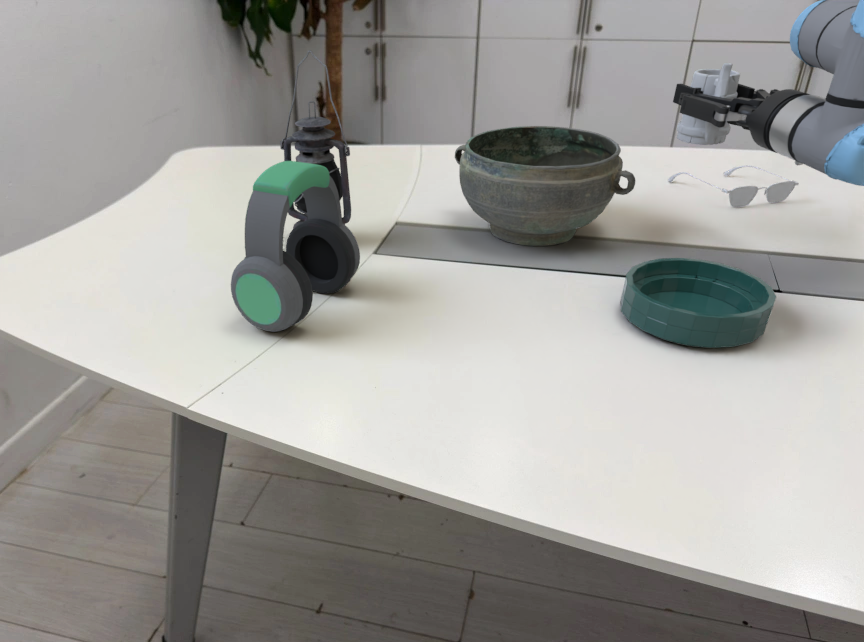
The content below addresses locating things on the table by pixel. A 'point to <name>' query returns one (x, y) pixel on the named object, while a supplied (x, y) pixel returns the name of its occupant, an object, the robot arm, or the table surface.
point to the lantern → (318, 153)
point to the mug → (714, 85)
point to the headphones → (292, 247)
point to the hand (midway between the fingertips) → (701, 91)
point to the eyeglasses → (753, 190)
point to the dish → (697, 302)
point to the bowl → (540, 180)
